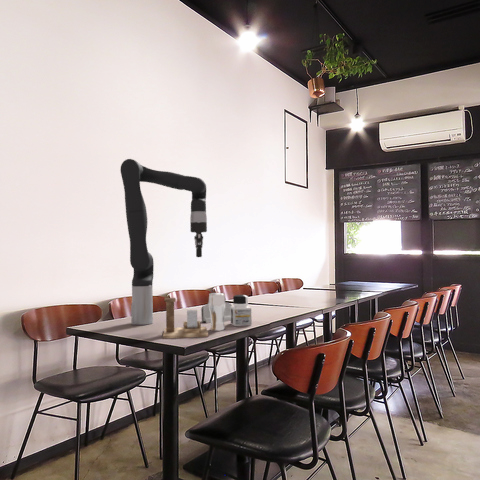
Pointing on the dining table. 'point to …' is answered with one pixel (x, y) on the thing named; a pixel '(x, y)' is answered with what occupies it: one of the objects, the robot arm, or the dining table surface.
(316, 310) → the dining table surface
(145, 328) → the dining table surface
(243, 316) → the container
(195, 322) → the brushed grey block
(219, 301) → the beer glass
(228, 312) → the card swipe reader
